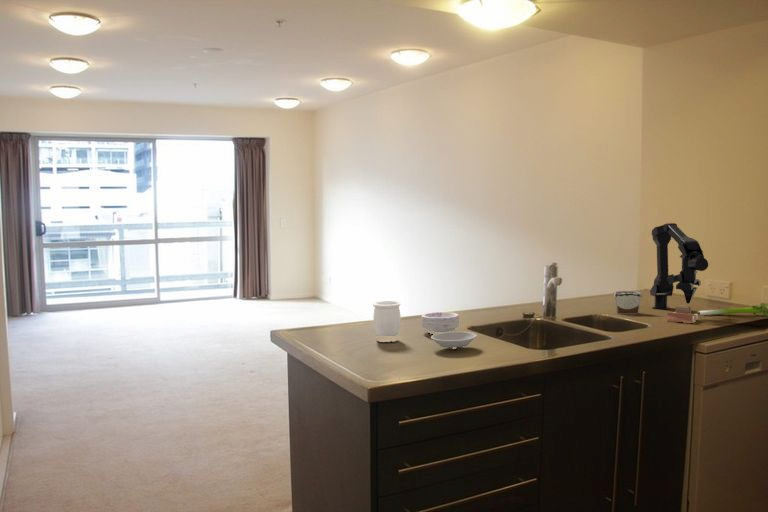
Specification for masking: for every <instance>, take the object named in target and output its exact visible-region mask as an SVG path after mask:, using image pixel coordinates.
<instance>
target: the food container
mask: <svg viewBox="0 0 768 512" xmlns="http://www.w3.org/2000/svg"><path fill="white" fill-rule="evenodd" d="M613 297H614V298H615V305H616V306H615V308H616V314H617V315H639V311H640V303H641V302H640V301H641V298H642V297H643V296H642V293H641V291H640V292H639V291H632V290H619V291H616V292H614V295H613Z"/></svg>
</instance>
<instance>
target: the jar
mask: <svg viewBox="0 0 768 512" xmlns="http://www.w3.org/2000/svg"><path fill="white" fill-rule="evenodd" d="M372 304H373V305H372V306H373V308H374V311H373V325H374V331H375V333H376V336H377V335H380V336H396V335H397V336H398V335H399V332H400V328H401V327H400V326H401V316H402V315H401V311H400V306H401V303H400V302H399V301H391V300H390V301H389V300H386V301H385V300H383V301H376V302H373V303H372Z"/></svg>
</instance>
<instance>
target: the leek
mask: <svg viewBox="0 0 768 512" xmlns="http://www.w3.org/2000/svg"><path fill="white" fill-rule="evenodd" d="M767 307H768V304H767V303H764V302H763V303H762V302H761V303H760V305H759V304H758V305H755V304H754V305H752V307H737V308H721V309H720V308H719V309H708V310H697V314H699V316H700V315H701V316H700V317H703V316H702V315H708V316H714V315H715V316H717V315H724V314H726V315H727V314H741V313H745V314H746V313H747V314H749V313H752V314H753V315H756V313H757V314H763V316H764V317H766V316H767V315H768V308H767Z"/></svg>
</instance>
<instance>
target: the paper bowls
mask: <svg viewBox="0 0 768 512" xmlns="http://www.w3.org/2000/svg"><path fill="white" fill-rule="evenodd" d="M459 326H460V317H459V314H458V313H456V312H455V313H454V312H444V311H441V312H440V311H439V312H428V313H424V314H422V315H421V327H422V328H423V329H427V330H429V331H434V332H449V331H453V330H454V331H455V330H456V328H459ZM427 330H426V331H427Z"/></svg>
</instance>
